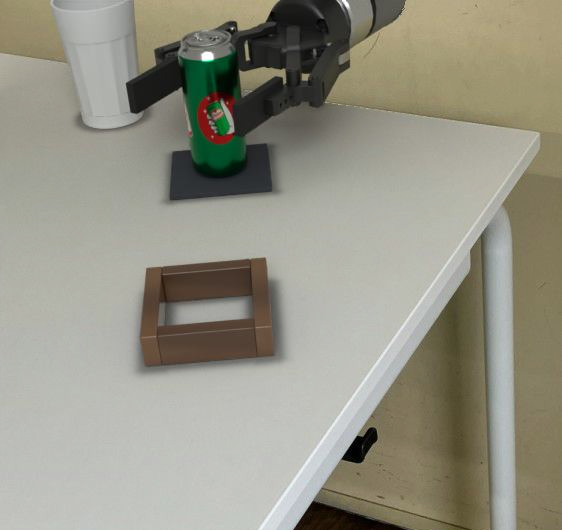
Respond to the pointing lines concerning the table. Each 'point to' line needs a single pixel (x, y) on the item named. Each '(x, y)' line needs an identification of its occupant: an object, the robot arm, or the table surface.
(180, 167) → the mat
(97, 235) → the table surface
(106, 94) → the cup
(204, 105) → the soda can
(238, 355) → the collar stand
